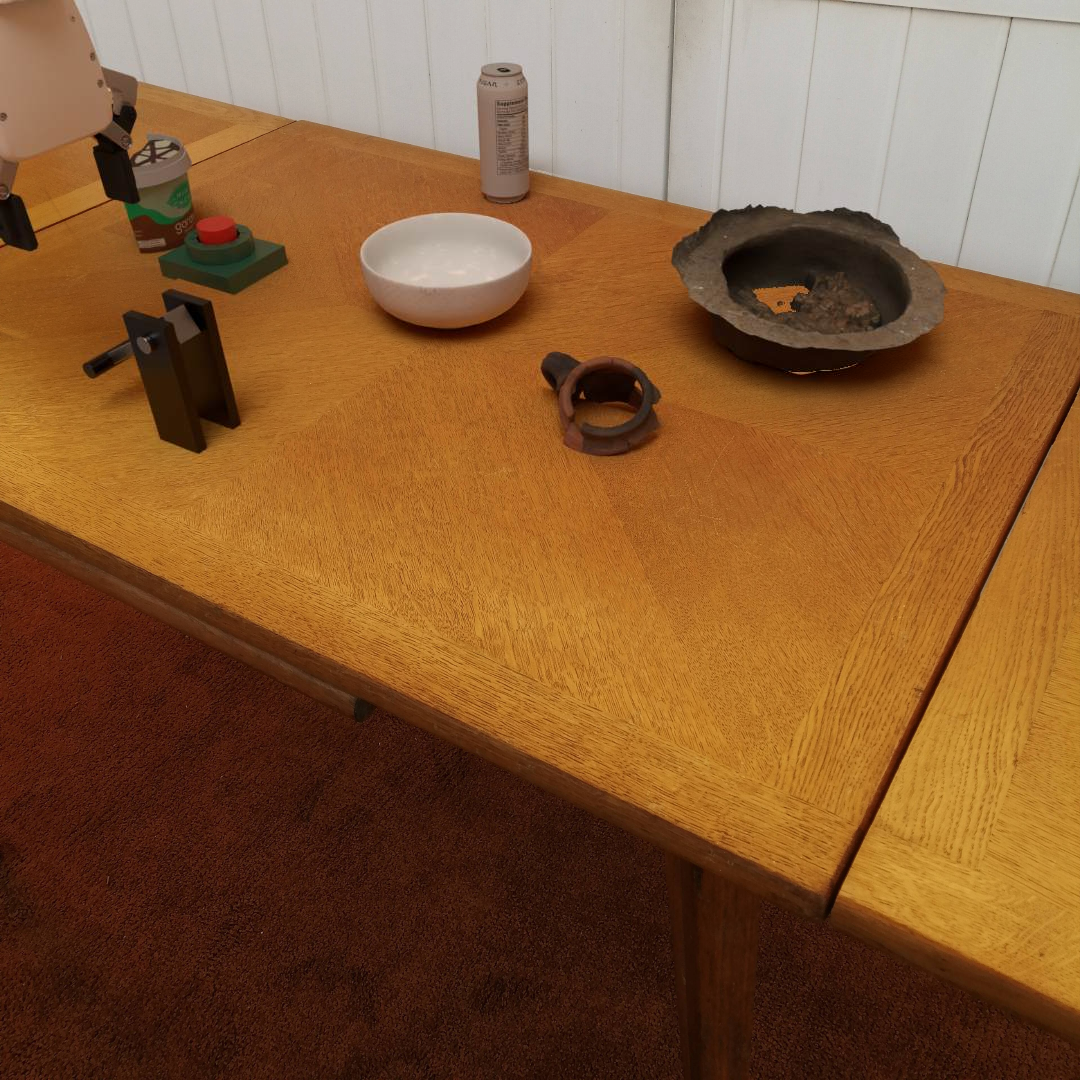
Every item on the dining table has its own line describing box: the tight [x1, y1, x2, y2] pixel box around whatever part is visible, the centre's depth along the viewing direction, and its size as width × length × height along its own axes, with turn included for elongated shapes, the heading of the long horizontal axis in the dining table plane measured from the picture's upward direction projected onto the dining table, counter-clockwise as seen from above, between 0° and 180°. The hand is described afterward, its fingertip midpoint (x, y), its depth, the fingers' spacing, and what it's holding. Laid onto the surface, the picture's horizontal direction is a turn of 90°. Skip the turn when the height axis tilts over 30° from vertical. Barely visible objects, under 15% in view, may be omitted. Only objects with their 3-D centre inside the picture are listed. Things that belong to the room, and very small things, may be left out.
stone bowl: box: [670, 203, 949, 372], centre depth 95 cm, size 25×25×9 cm
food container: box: [123, 132, 197, 255], centre depth 114 cm, size 12×6×10 cm, turn 179°
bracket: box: [121, 288, 242, 455], centre depth 80 cm, size 11×8×13 cm
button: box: [196, 215, 238, 245], centre depth 107 cm, size 4×4×2 cm
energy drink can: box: [476, 62, 530, 204], centre depth 121 cm, size 6×6×15 cm
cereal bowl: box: [359, 212, 533, 330], centre depth 100 cm, size 17×17×7 cm
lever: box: [82, 305, 201, 380], centre depth 80 cm, size 12×5×2 cm, turn 61°
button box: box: [157, 222, 289, 296], centre depth 109 cm, size 10×9×4 cm
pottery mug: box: [540, 351, 663, 457], centre depth 84 cm, size 12×10×8 cm
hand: (75, 222), depth 76 cm, fingers open, 9 cm apart
